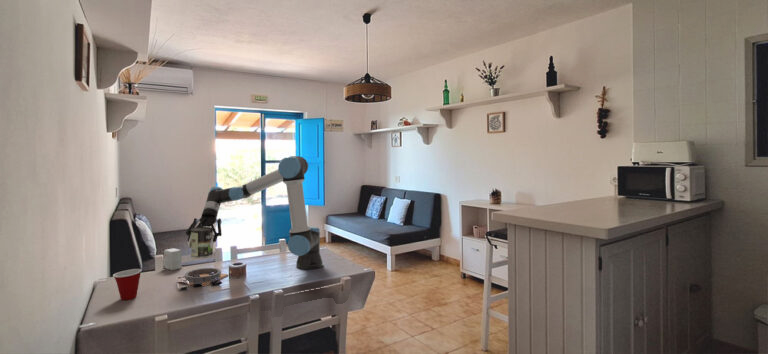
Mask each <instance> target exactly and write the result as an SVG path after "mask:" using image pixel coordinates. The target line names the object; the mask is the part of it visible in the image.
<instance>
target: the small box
mask: <svg viewBox="0 0 768 354" xmlns="http://www.w3.org/2000/svg"><path fill="white" fill-rule="evenodd" d="M163 252H164V253H163V254H164V259H163V260H164V269H167V270H169V269H170V270H171V271H174V270H176V271H177V270H178V269H179V270H180V269H182V268H183V266H182V265H183V263H182V261H183V260H182V249H178V248H168V249H164V251H163Z"/></svg>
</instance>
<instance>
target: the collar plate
mask: <svg viewBox="0 0 768 354" xmlns="http://www.w3.org/2000/svg"><path fill="white" fill-rule="evenodd" d="M211 272H214V273H216V274H213V275H209V273H211ZM194 274H199V275H200V277H193V275H194ZM216 277H219V279H220V280H223V279H225V278H228V277H229V274H228V273H222V270H221V269H219V268H216V267H203V268H198V269H197V268H196V269H192V270H190V271H187V272H186V273H185V274H184V278H185V279H186V280H188V281H189V283H190V284H189V285H193V284H194V282H202V284H201V285H202V286H201V287H206V286H209V285H211V284H210V282H211V280H212V279H214V278H216ZM178 280H179V279H177V280H176V282H177V281H178ZM193 286H194V285H193Z"/></svg>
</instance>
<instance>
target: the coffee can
mask: <svg viewBox="0 0 768 354" xmlns="http://www.w3.org/2000/svg"><path fill="white" fill-rule="evenodd" d="M212 235H214V232H213V228H212V227H211V226H210V227H207V226H206V227H198V228H193V229H191V248H190V249H191V250H190V255H191V258H192V259H206V258H210V257H213V256H214V254H213V253H214V251H213V248H214V246H213V247H212V248H210V246H209V245H210V242H211V238H212Z"/></svg>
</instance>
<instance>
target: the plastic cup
mask: <svg viewBox="0 0 768 354" xmlns="http://www.w3.org/2000/svg"><path fill="white" fill-rule="evenodd" d="M142 272H143V271H142V269H141V268H132V269H127V270H126V269H125V270H122V271H118V272H115V273H114V274H112V276H113V278H114V279H115V282H116V287H117V290H118V293H119V297H120V300H121V301H129V300H133V299H136V298H137V296H138V290H139V284H140V279H141V273H142Z"/></svg>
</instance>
